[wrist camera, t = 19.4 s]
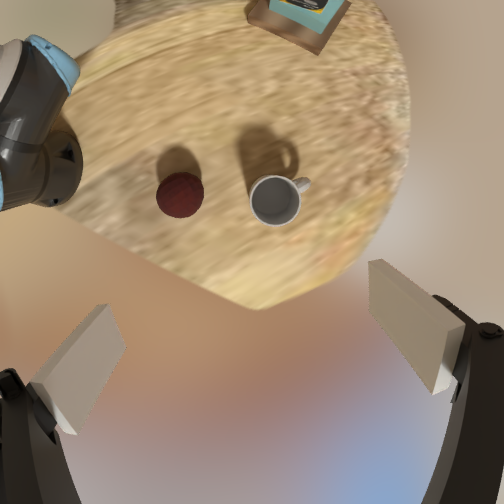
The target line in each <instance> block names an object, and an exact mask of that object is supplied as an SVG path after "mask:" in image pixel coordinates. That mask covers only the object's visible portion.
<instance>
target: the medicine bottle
mask: <svg viewBox="0 0 504 504" xmlns="http://www.w3.org/2000/svg"><path fill="white" fill-rule="evenodd" d="M279 1H281V2H284V3H288V4H291V5H294V6H297V7H301V8H304V9H307V10H309V11H312V12H315V13H318V14H321V13H322V11H323V10H324V8H325V6H326V4H327V3H328V1H329V0H279Z"/></svg>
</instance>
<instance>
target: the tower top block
mask: <svg viewBox="0 0 504 504" xmlns="http://www.w3.org/2000/svg"><path fill="white" fill-rule="evenodd" d="M343 2H344V0H329V1H328V3H327V4H326V6H325V8H324V10H323V11H322V13H321V14H318V13H315V12H312V11H309V10H307V9H304V8H301V7H297V6H294V5H291V4H288V3H284V2H281V1H279V0H270V5H269V10H272V11H274V12H276V13H279V14H281V15H283V16H285V17H287V18H289V19H292V20H294V21H296V22H298V23H300V24H302V25H304V26H306V27H308V28H309V29H311V30H313V31H315V32H317V33H319V34H322V32H323V31H324V29H325V28H326V26H327V25H328V23H329V22H330V20H331V19H332V18H333V16H334V15H335V13H336V12H337V10H338V9H339V8H340V6H341V5H342V3H343Z"/></svg>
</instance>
